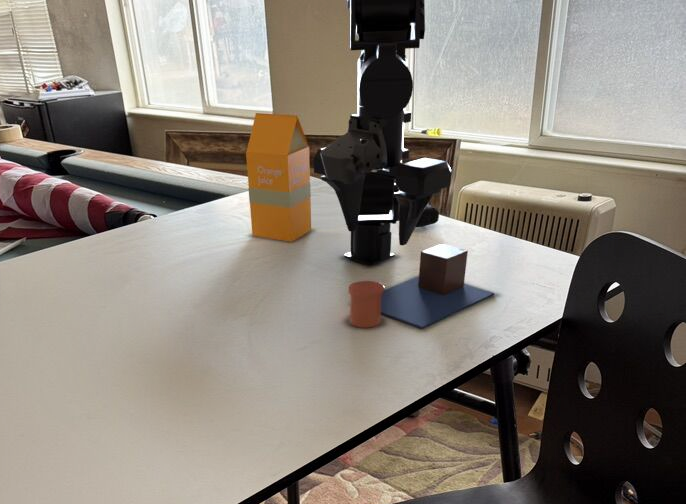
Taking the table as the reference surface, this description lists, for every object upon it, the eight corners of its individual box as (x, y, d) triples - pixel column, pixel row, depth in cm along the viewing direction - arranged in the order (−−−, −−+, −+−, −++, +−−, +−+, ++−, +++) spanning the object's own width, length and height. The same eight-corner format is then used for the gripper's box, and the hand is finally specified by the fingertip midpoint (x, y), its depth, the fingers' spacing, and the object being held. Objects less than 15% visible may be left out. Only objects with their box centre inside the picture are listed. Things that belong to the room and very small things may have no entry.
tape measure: (439, 228, 131) (441, 207, 129) (406, 232, 130) (407, 211, 128) (423, 218, 137) (425, 198, 134) (391, 222, 135) (392, 202, 133)
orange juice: (291, 241, 128) (285, 119, 115) (251, 235, 132) (242, 116, 119) (312, 230, 133) (309, 111, 121) (273, 224, 137) (266, 109, 124)
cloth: (354, 304, 104) (354, 302, 104) (427, 274, 113) (427, 272, 113) (421, 329, 96) (421, 327, 96) (494, 294, 105) (494, 293, 105)
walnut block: (418, 287, 108) (420, 251, 104) (438, 278, 110) (441, 243, 107) (443, 295, 105) (447, 259, 101) (463, 286, 107) (467, 250, 104)
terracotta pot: (340, 321, 99) (340, 287, 96) (364, 311, 102) (365, 278, 99) (365, 331, 96) (366, 296, 93) (390, 321, 99) (391, 286, 96)
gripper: (279, 106, 84) (285, 237, 94) (395, 122, 73) (389, 269, 83) (343, 94, 90) (343, 219, 100) (460, 107, 79) (447, 246, 89)
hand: (376, 237), depth 93 cm, fingers open, 9 cm apart
